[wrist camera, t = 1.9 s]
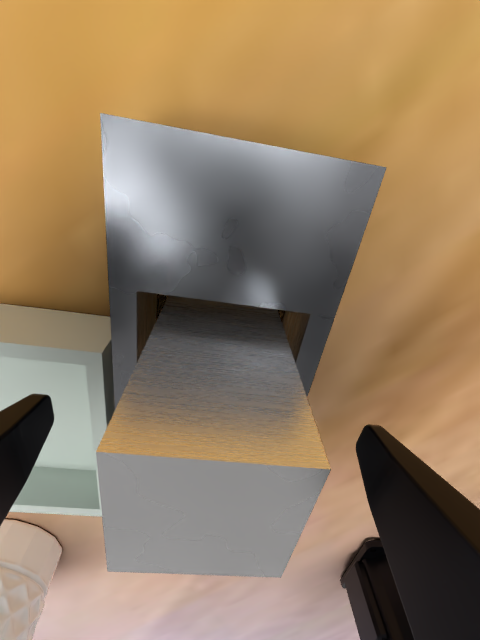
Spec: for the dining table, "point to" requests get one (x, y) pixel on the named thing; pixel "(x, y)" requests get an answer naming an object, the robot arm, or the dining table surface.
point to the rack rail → (227, 232)
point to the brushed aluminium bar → (210, 448)
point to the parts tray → (60, 401)
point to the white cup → (24, 576)
